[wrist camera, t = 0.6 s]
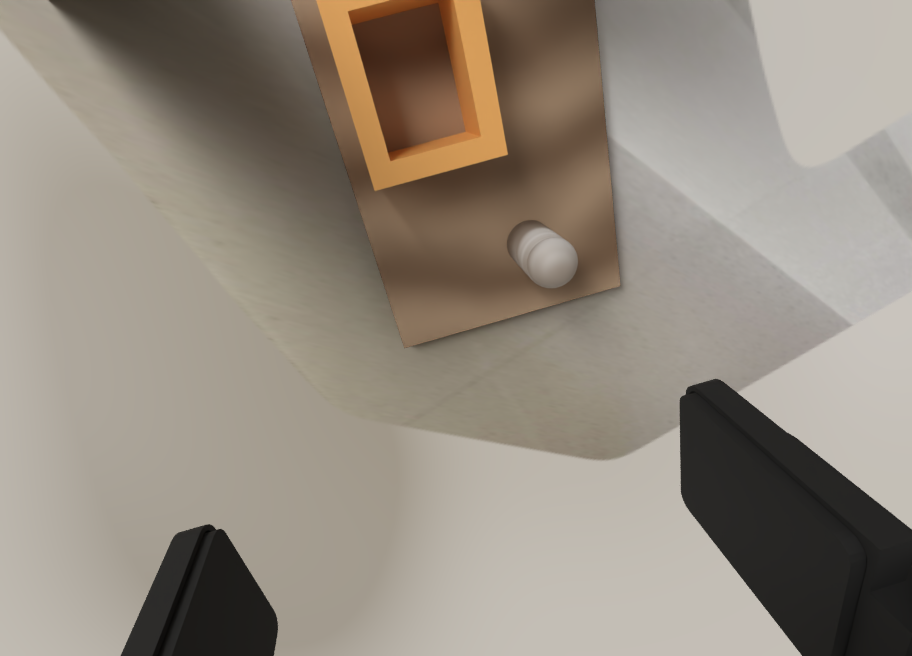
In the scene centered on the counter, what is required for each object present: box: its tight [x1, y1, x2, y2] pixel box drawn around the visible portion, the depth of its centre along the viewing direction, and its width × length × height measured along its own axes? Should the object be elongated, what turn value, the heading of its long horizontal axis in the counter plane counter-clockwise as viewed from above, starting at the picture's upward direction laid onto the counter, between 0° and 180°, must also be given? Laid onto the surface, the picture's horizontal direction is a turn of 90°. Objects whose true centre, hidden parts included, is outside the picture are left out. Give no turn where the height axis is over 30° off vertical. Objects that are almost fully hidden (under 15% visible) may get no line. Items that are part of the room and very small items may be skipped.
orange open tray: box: [316, 0, 508, 191], centre depth 25 cm, size 9×7×4 cm
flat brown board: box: [291, 0, 620, 348], centre depth 28 cm, size 22×16×8 cm
